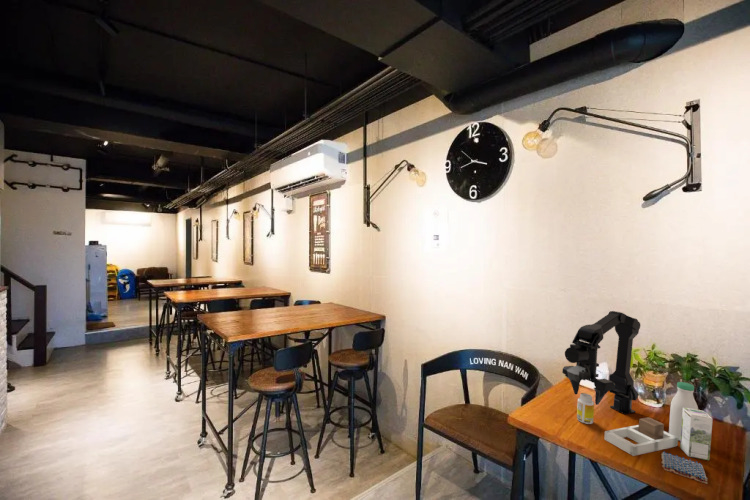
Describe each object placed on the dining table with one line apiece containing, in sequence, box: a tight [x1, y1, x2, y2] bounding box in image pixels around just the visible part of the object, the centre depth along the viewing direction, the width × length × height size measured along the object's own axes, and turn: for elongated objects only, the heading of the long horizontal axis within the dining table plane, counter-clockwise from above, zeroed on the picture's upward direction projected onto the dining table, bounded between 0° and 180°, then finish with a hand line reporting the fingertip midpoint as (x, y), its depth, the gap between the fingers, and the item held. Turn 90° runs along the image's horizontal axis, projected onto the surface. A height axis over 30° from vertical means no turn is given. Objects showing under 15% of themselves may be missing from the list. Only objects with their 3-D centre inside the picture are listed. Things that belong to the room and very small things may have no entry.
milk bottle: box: [668, 381, 699, 442], centre depth 127 cm, size 8×8×20 cm
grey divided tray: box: [603, 424, 679, 457], centre depth 123 cm, size 22×10×3 cm, turn 109°
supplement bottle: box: [576, 392, 595, 425], centre depth 137 cm, size 6×6×10 cm
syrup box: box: [679, 408, 713, 461], centre depth 117 cm, size 6×6×14 cm
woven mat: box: [660, 450, 708, 485], centre depth 109 cm, size 10×11×2 cm
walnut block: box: [638, 417, 665, 440], centre depth 124 cm, size 5×5×7 cm
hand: (586, 399), depth 137 cm, fingers open, 9 cm apart
